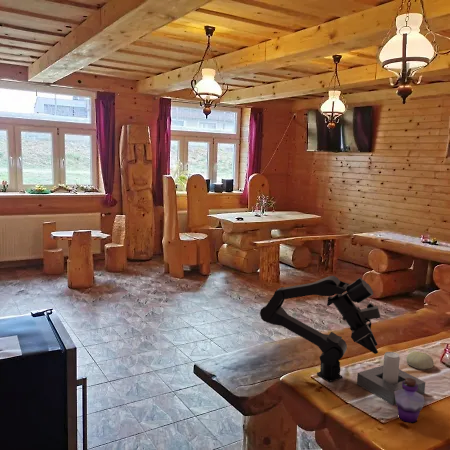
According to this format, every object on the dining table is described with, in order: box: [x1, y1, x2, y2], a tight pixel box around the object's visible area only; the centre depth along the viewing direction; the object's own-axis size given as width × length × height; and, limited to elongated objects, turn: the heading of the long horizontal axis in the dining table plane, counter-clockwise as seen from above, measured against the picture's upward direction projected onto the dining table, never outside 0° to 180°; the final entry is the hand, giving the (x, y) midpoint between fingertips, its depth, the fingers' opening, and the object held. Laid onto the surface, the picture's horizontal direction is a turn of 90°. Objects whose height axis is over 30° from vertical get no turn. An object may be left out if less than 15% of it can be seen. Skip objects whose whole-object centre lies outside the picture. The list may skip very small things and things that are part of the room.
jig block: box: [356, 364, 426, 406], centre depth 148 cm, size 15×15×4 cm
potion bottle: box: [394, 378, 425, 424], centre depth 131 cm, size 9×9×12 cm
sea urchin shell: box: [405, 351, 435, 370], centre depth 166 cm, size 9×8×8 cm
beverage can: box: [382, 351, 401, 384], centre depth 148 cm, size 5×5×12 cm
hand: (376, 349), depth 148 cm, fingers open, 9 cm apart
